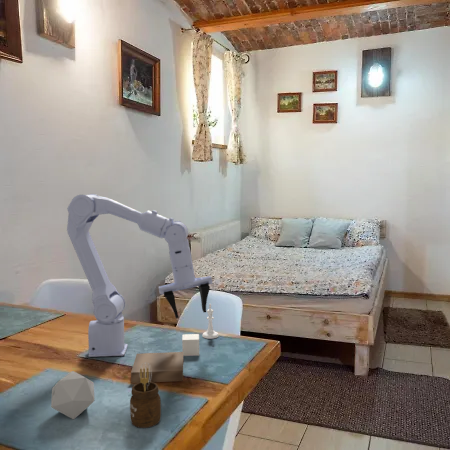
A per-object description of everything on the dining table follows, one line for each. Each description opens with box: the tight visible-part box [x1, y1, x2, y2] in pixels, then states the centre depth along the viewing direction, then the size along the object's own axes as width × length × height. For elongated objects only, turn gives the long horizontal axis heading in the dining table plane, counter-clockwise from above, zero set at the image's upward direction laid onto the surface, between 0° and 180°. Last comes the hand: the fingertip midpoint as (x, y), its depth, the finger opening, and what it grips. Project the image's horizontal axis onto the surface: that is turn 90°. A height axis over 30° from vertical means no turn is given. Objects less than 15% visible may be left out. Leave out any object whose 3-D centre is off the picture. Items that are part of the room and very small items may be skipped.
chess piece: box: [201, 303, 220, 340], centre depth 139 cm, size 5×5×10 cm
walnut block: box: [130, 351, 184, 384], centre depth 114 cm, size 12×12×3 cm
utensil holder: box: [129, 363, 162, 429], centre depth 90 cm, size 6×6×12 cm
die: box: [50, 370, 96, 421], centre depth 94 cm, size 8×9×10 cm
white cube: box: [181, 333, 200, 357], centre depth 126 cm, size 4×4×4 cm
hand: (190, 314), depth 126 cm, fingers open, 7 cm apart
